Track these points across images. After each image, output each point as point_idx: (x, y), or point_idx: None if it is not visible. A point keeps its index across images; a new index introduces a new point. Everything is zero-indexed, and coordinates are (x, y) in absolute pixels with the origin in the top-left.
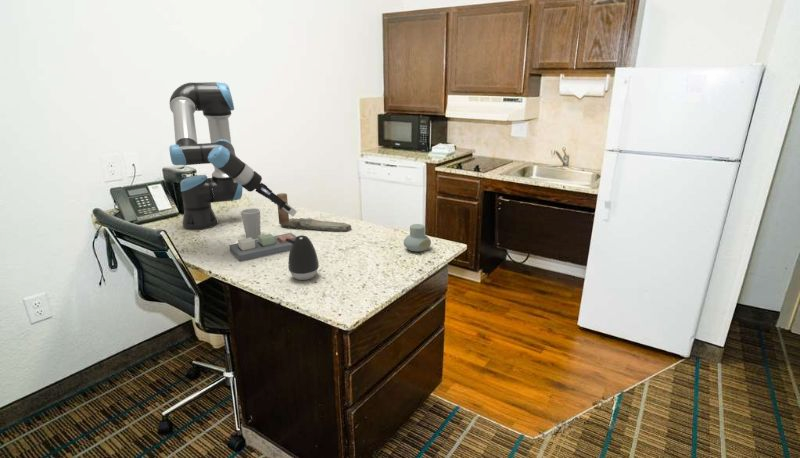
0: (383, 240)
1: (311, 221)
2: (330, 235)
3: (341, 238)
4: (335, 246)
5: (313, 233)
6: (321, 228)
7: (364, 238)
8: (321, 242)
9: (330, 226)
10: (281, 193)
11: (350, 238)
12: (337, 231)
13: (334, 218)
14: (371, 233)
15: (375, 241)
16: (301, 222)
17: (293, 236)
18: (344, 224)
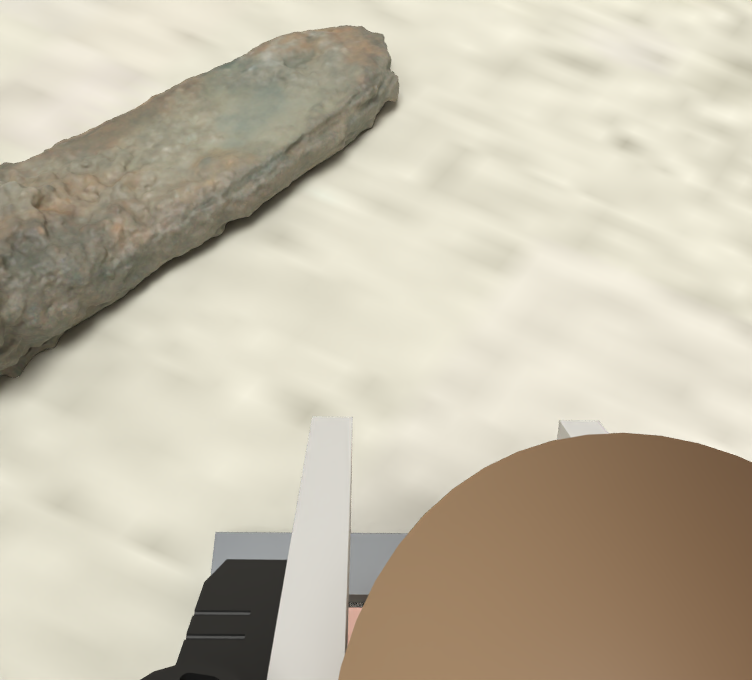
0: (720, 18)
1: (56, 210)
2: (402, 221)
3: (528, 190)
4: (701, 306)
5: (250, 307)
6: (241, 212)
7: (618, 78)
8: (537, 355)
9: (295, 143)
10: (396, 671)
11: (565, 143)
12: (345, 142)
13: (17, 30)
14: (537, 7)
15: (717, 57)
16: (24, 303)
17: (371, 565)
18: (335, 50)
